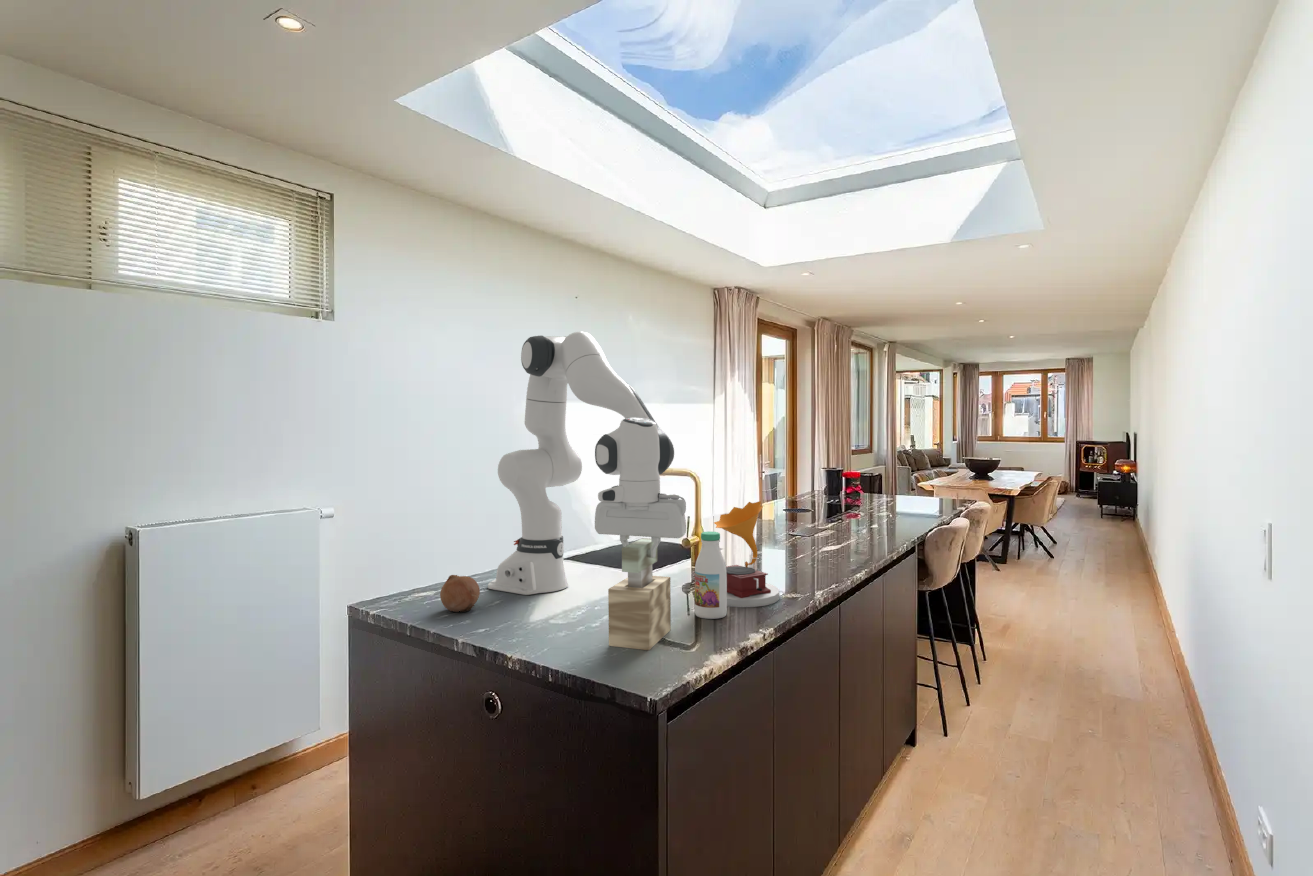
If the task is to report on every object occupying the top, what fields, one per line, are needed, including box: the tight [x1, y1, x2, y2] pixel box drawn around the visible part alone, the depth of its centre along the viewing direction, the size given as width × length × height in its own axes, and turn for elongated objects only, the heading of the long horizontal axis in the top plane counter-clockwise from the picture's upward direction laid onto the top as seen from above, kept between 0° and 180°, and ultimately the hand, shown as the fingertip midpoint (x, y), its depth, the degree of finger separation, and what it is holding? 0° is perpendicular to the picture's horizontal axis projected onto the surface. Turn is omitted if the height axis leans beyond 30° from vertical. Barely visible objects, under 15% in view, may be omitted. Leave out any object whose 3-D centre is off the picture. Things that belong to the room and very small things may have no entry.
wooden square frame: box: [607, 575, 672, 651], centre depth 149 cm, size 14×9×12 cm, turn 160°
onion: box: [439, 574, 481, 613], centre depth 171 cm, size 10×9×10 cm
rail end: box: [621, 537, 658, 588], centre depth 148 cm, size 12×4×9 cm, turn 160°
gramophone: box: [713, 501, 780, 608], centre depth 182 cm, size 20×20×25 cm
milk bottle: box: [694, 531, 728, 620], centre depth 165 cm, size 8×8×20 cm
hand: (640, 556), depth 148 cm, fingers closed on rail end, 4 cm apart
